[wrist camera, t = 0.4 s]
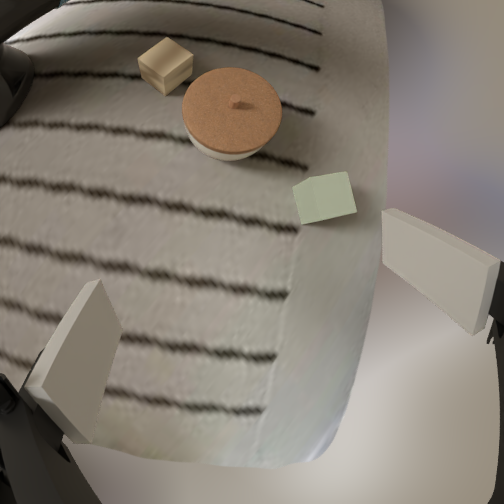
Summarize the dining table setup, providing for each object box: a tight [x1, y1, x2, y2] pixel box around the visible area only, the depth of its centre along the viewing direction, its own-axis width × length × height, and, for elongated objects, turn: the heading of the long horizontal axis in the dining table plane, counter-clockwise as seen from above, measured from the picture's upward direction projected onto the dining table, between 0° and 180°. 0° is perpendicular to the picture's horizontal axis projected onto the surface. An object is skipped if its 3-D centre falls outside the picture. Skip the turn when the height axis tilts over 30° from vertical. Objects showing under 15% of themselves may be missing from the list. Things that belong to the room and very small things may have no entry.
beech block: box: [137, 37, 193, 96], centre depth 31 cm, size 5×5×5 cm
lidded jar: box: [182, 67, 282, 161], centre depth 31 cm, size 11×11×9 cm
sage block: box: [292, 171, 357, 225], centre depth 35 cm, size 5×5×6 cm
